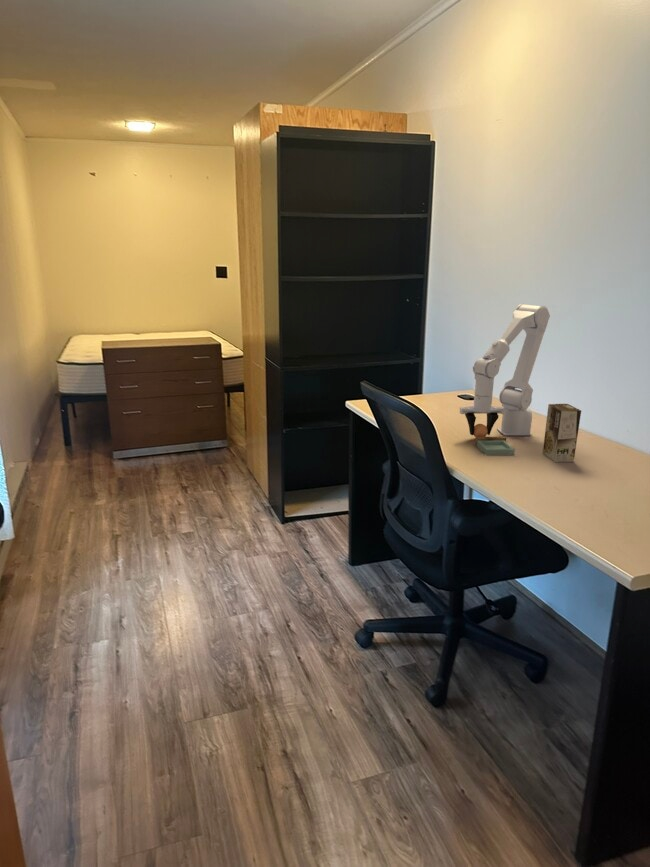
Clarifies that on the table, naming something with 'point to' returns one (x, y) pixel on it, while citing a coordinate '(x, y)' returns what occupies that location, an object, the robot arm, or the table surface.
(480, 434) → the ball
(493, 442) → the tray
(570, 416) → the coffee box
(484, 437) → the rail
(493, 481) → the table surface
